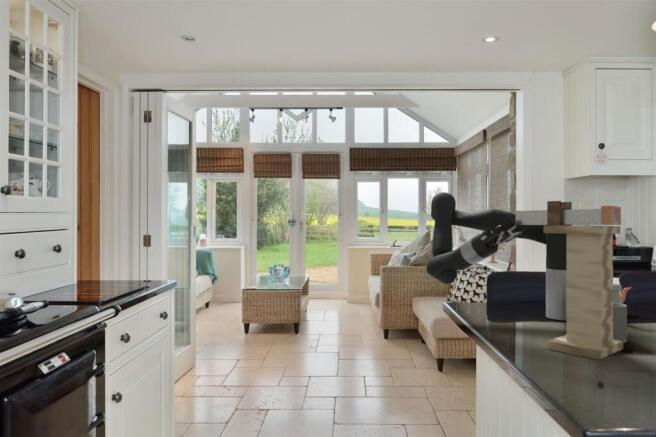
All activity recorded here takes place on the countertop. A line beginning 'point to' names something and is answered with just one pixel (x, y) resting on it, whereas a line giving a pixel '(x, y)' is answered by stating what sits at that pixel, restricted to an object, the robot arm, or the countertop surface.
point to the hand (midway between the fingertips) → (521, 222)
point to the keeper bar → (573, 216)
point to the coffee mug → (620, 322)
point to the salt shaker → (617, 293)
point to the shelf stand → (586, 286)
